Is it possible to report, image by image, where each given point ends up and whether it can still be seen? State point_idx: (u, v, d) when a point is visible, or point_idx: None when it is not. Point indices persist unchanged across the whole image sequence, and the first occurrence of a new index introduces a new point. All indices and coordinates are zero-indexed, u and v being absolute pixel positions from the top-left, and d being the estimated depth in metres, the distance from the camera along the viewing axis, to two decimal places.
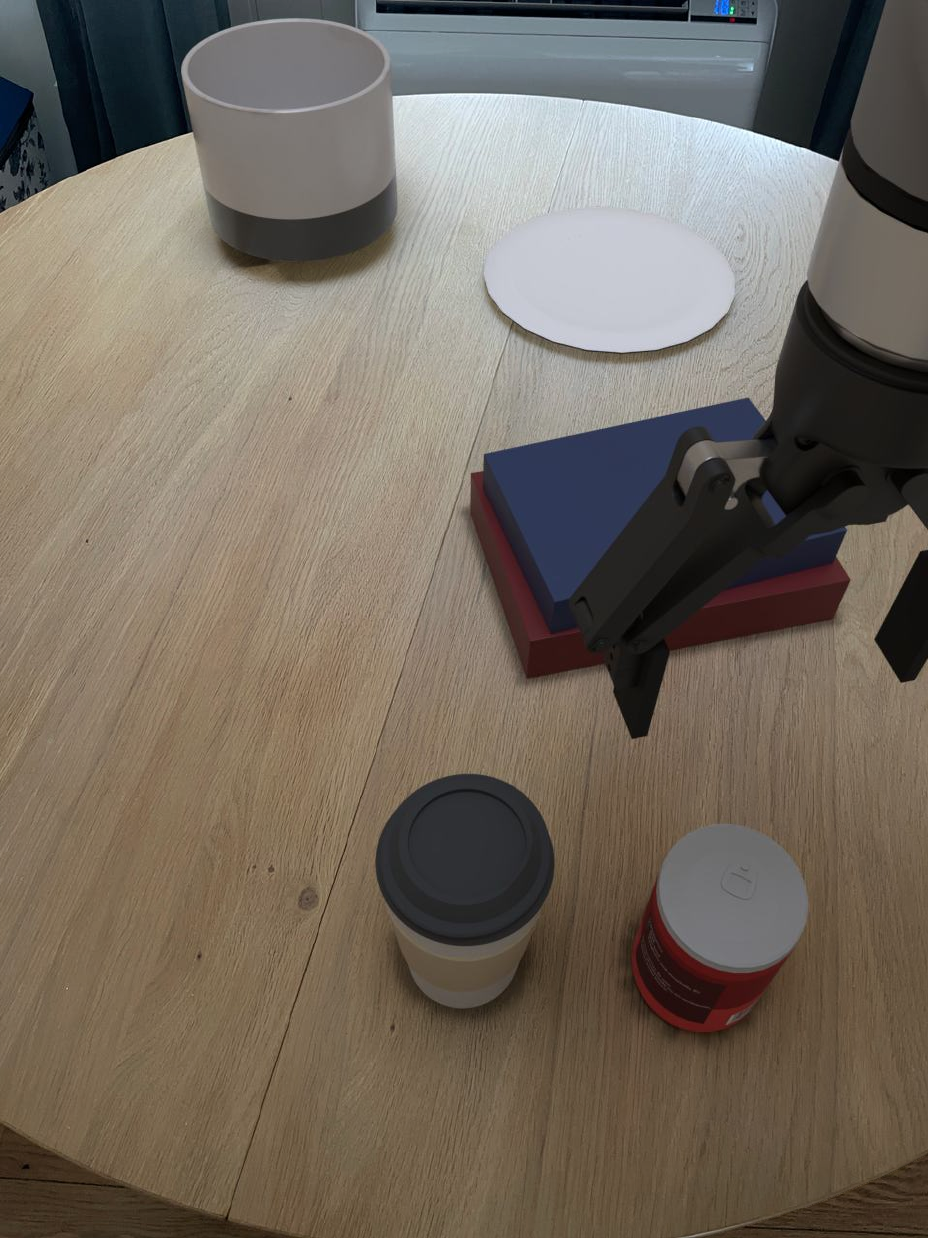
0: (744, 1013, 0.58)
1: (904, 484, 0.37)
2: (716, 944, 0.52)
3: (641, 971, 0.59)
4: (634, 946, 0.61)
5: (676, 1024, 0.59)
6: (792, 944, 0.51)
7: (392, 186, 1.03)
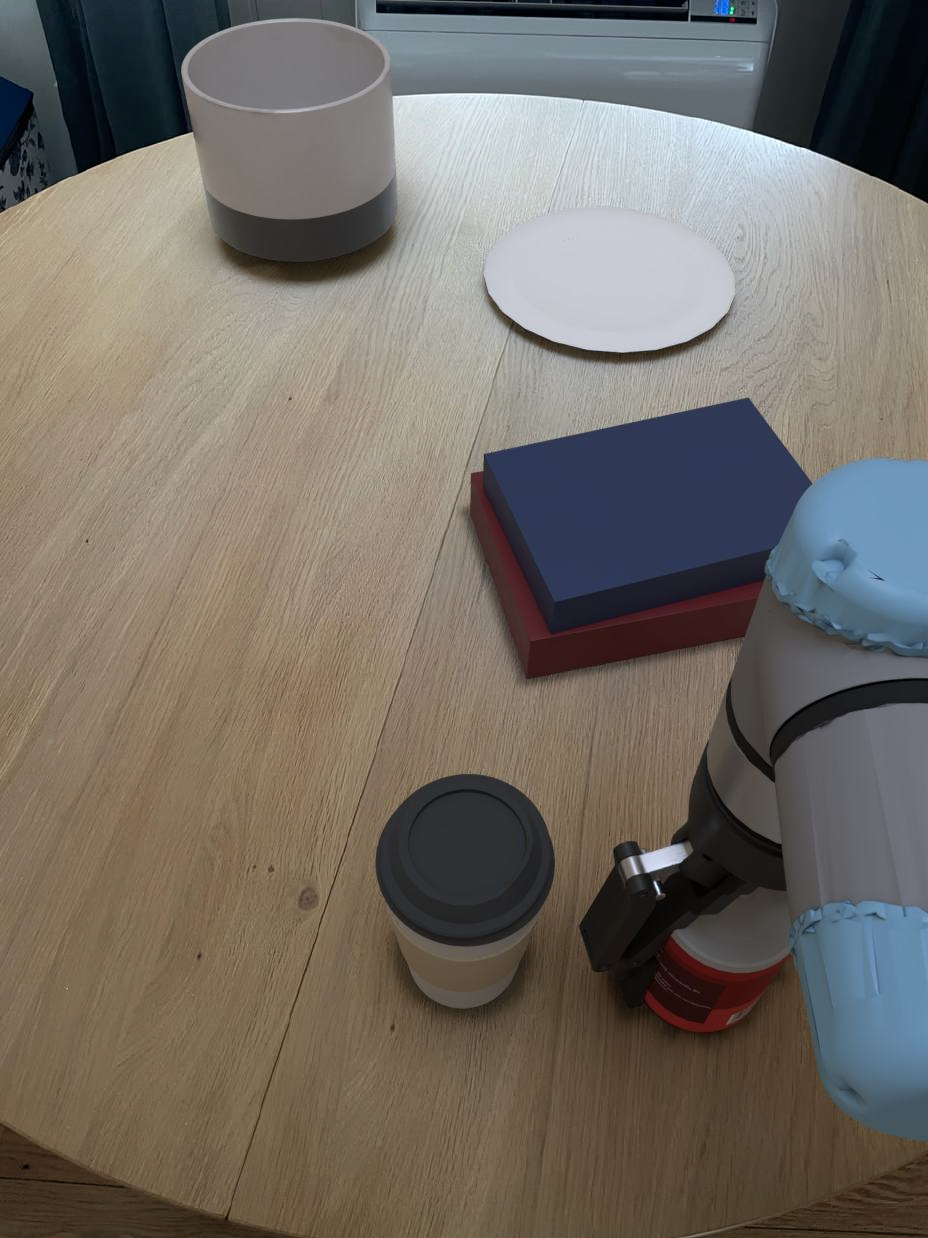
0: (744, 1013, 0.58)
1: None
2: (716, 944, 0.52)
3: None
4: None
5: (676, 1024, 0.59)
6: None
7: (392, 186, 1.03)
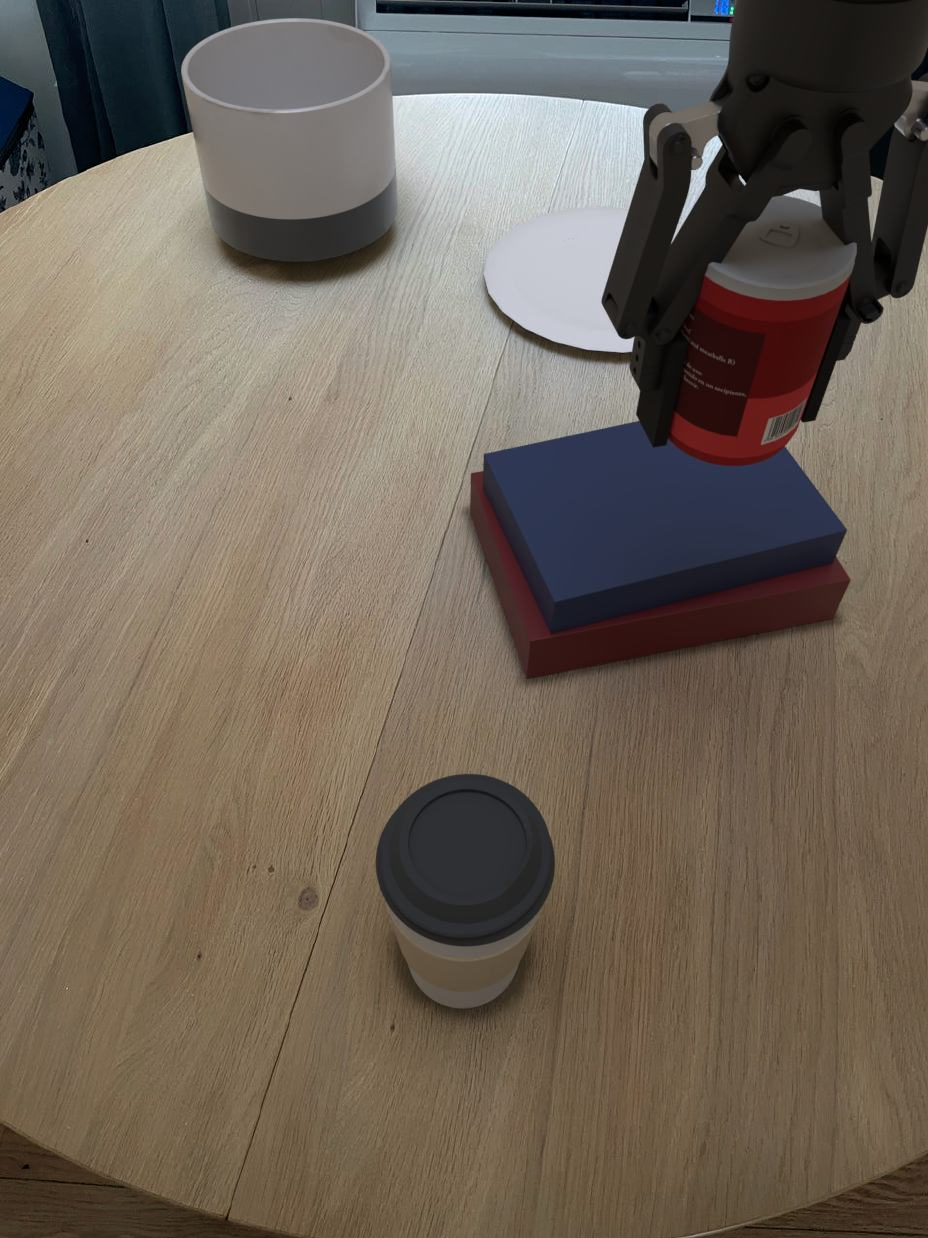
0: (781, 429, 0.53)
1: (843, 132, 0.42)
2: (755, 275, 0.46)
3: None
4: None
5: (706, 449, 0.53)
6: (840, 273, 0.46)
7: (392, 186, 1.03)
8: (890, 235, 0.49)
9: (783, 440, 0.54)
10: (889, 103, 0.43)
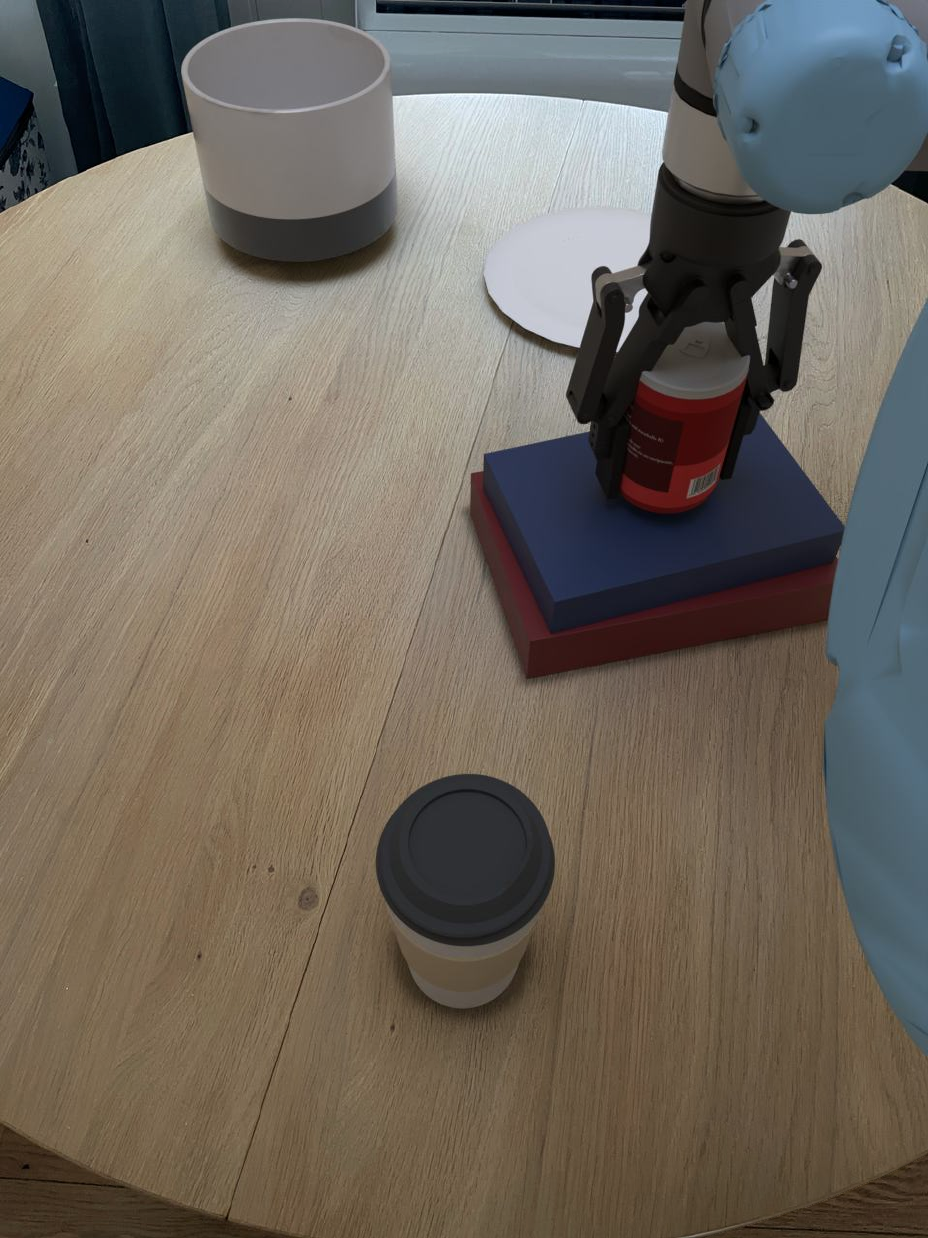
0: (702, 487, 0.70)
1: (731, 287, 0.60)
2: (675, 380, 0.64)
3: None
4: None
5: (646, 501, 0.71)
6: (736, 379, 0.64)
7: (392, 186, 1.03)
8: (777, 348, 0.67)
9: (704, 494, 0.71)
10: (764, 266, 0.60)
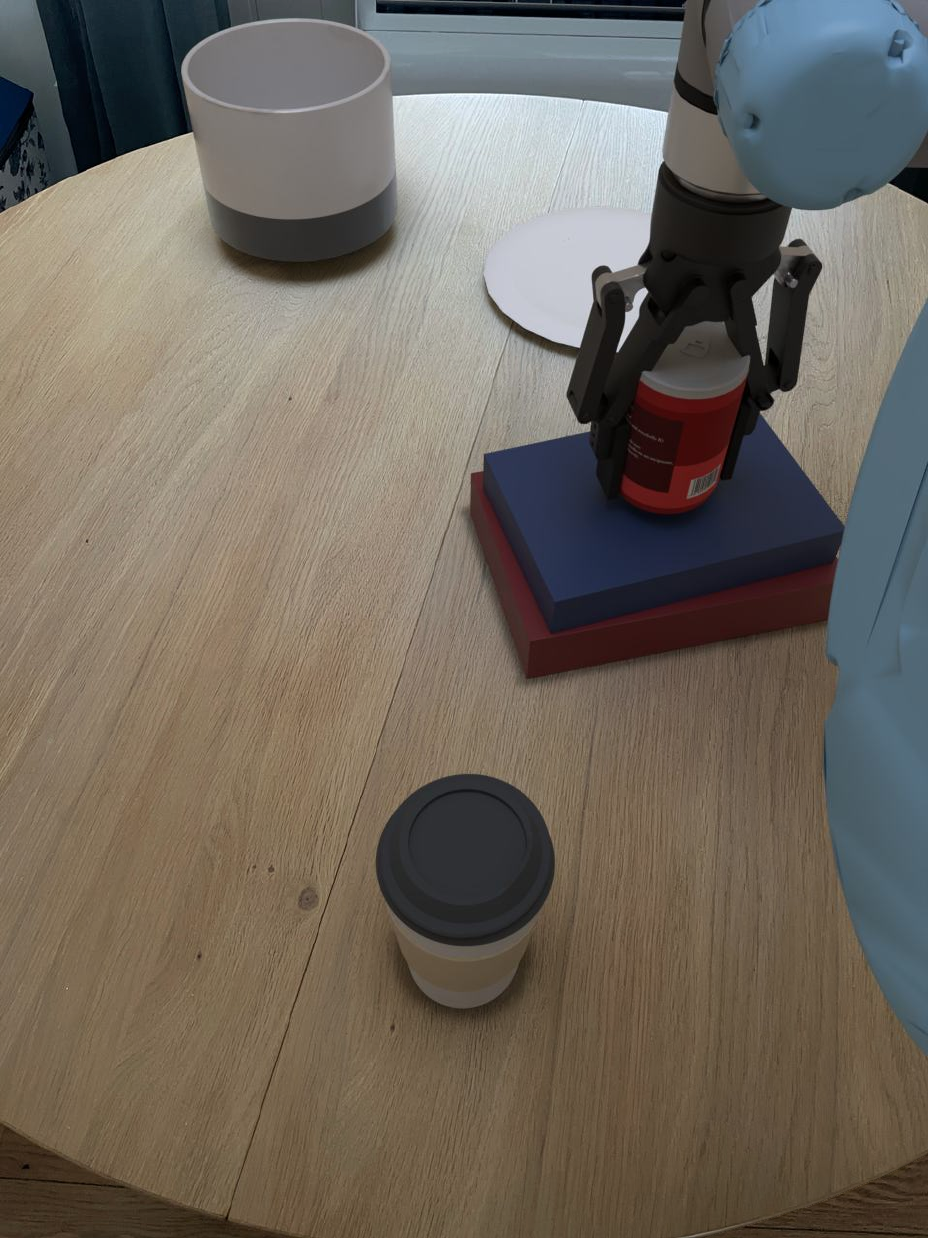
0: (702, 487, 0.70)
1: (731, 287, 0.60)
2: (675, 380, 0.64)
3: None
4: None
5: (646, 502, 0.71)
6: (736, 378, 0.64)
7: (392, 186, 1.03)
8: (777, 348, 0.67)
9: (704, 495, 0.71)
10: (764, 265, 0.60)
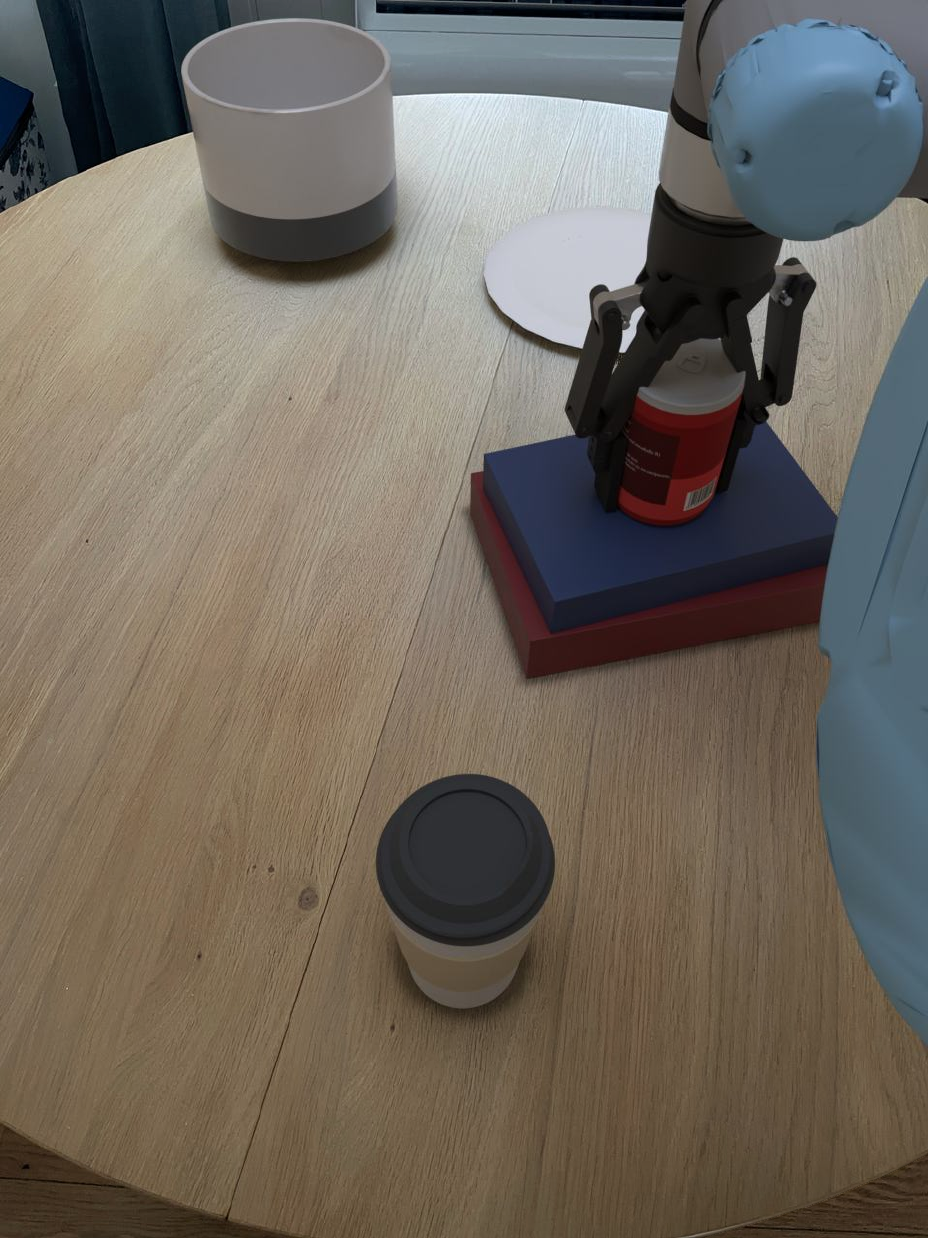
0: (698, 500, 0.71)
1: (727, 305, 0.61)
2: (671, 396, 0.65)
3: None
4: None
5: (643, 514, 0.72)
6: (731, 394, 0.65)
7: (392, 186, 1.03)
8: (772, 363, 0.68)
9: (700, 507, 0.72)
10: (759, 284, 0.61)
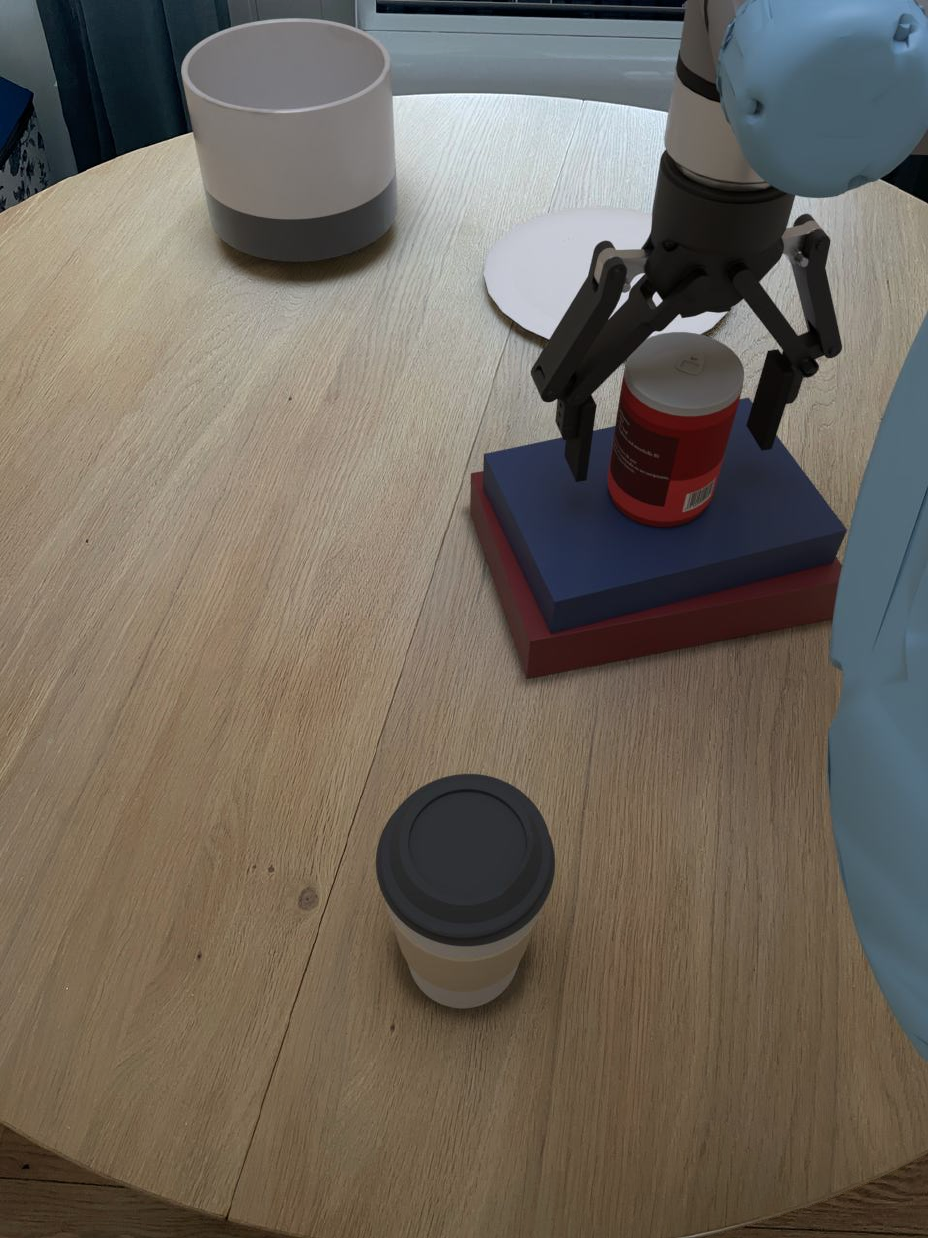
0: (697, 501, 0.71)
1: (734, 277, 0.59)
2: (670, 398, 0.65)
3: (614, 472, 0.72)
4: None
5: (642, 515, 0.72)
6: (730, 396, 0.65)
7: (392, 186, 1.03)
8: (811, 319, 0.66)
9: (699, 508, 0.72)
10: (766, 256, 0.60)
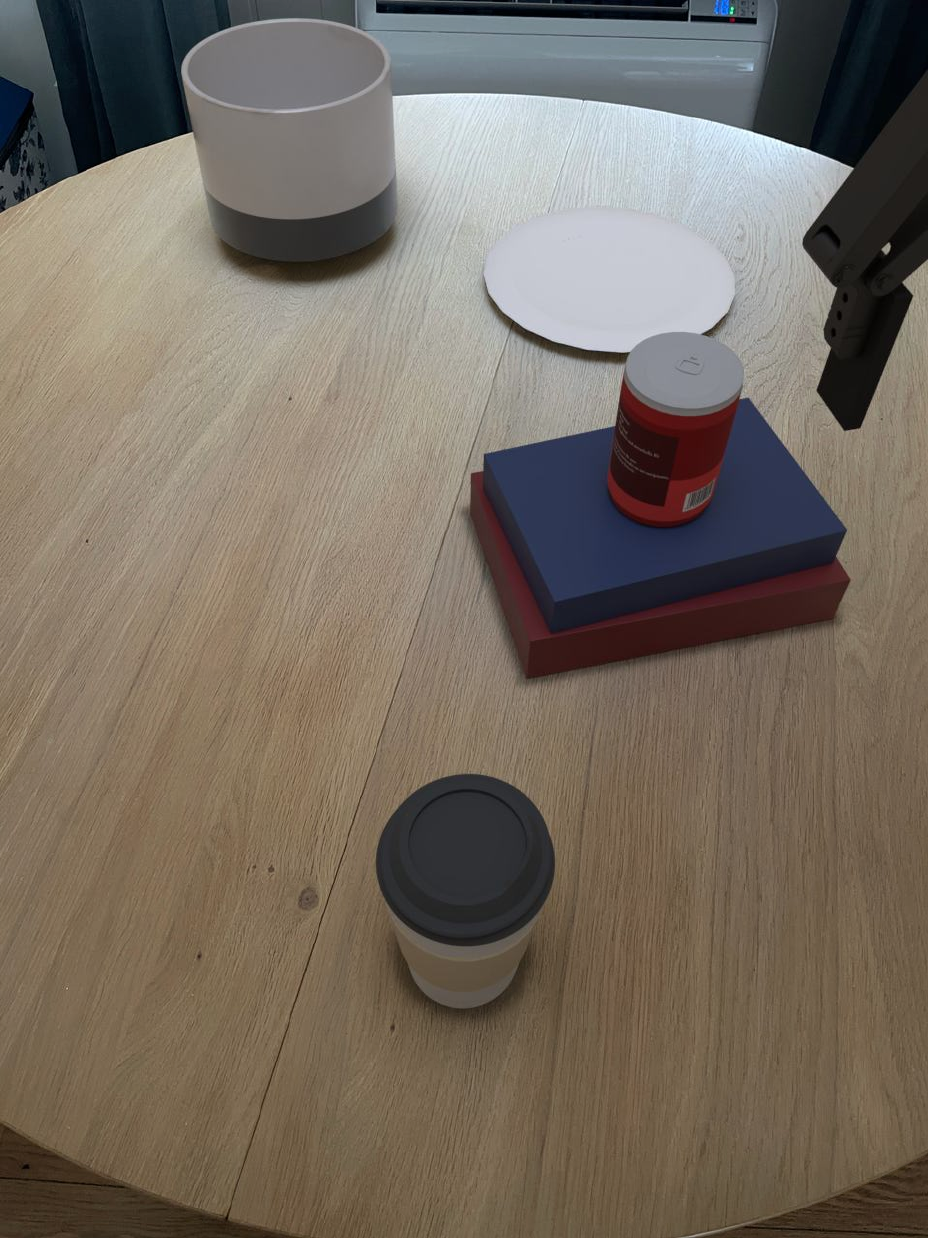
0: (697, 501, 0.71)
1: None
2: (670, 397, 0.65)
3: (614, 472, 0.72)
4: None
5: (642, 515, 0.72)
6: (730, 395, 0.65)
7: (392, 186, 1.03)
8: None
9: (699, 508, 0.72)
10: None
